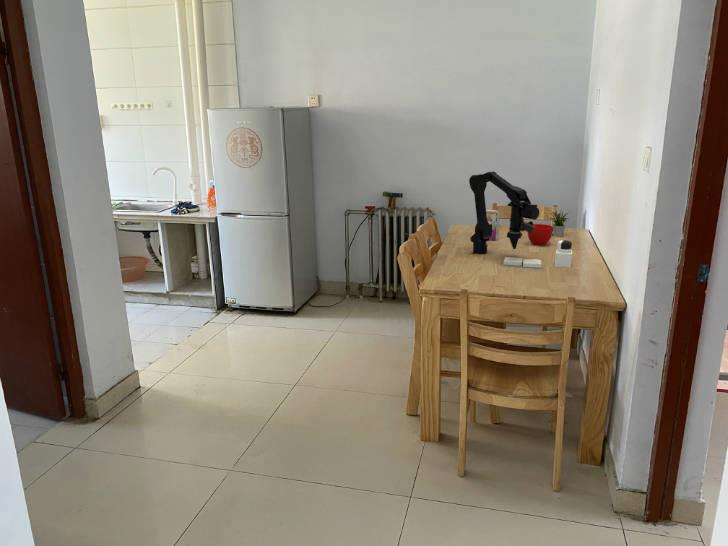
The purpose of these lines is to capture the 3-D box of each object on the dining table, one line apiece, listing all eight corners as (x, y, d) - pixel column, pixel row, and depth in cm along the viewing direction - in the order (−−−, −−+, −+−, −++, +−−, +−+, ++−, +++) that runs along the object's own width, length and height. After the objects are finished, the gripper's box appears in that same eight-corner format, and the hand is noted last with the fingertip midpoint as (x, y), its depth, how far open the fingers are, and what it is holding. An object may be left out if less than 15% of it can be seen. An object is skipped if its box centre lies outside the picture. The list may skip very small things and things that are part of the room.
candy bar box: (476, 239, 321) (477, 210, 317) (479, 237, 325) (481, 208, 321) (495, 241, 315) (497, 211, 311) (498, 239, 319) (500, 210, 315)
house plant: (539, 236, 326) (541, 208, 321) (546, 232, 337) (549, 204, 332) (564, 239, 318) (567, 210, 313) (571, 234, 329) (574, 206, 324)
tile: (505, 261, 272) (503, 265, 265) (505, 257, 271) (503, 261, 264) (522, 262, 270) (521, 266, 262) (522, 258, 269) (521, 262, 262)
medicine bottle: (570, 265, 266) (573, 239, 263) (570, 269, 260) (573, 243, 257) (554, 263, 269) (556, 238, 265) (554, 267, 262) (556, 242, 259)
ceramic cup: (561, 244, 307) (562, 225, 304) (540, 248, 298) (542, 229, 295) (541, 239, 317) (543, 222, 315) (521, 244, 308) (522, 225, 305)
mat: (503, 267, 263) (503, 266, 263) (506, 259, 278) (506, 258, 278) (539, 270, 258) (539, 269, 258) (540, 261, 273) (540, 260, 273)
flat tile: (523, 267, 261) (523, 263, 260) (522, 262, 268) (523, 258, 268) (541, 268, 259) (541, 264, 258) (540, 263, 266) (540, 259, 266)
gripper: (533, 221, 256) (530, 255, 260) (536, 214, 273) (533, 245, 277) (507, 219, 259) (505, 253, 264) (512, 212, 276) (509, 244, 281)
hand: (514, 248), depth 271 cm, fingers closed
